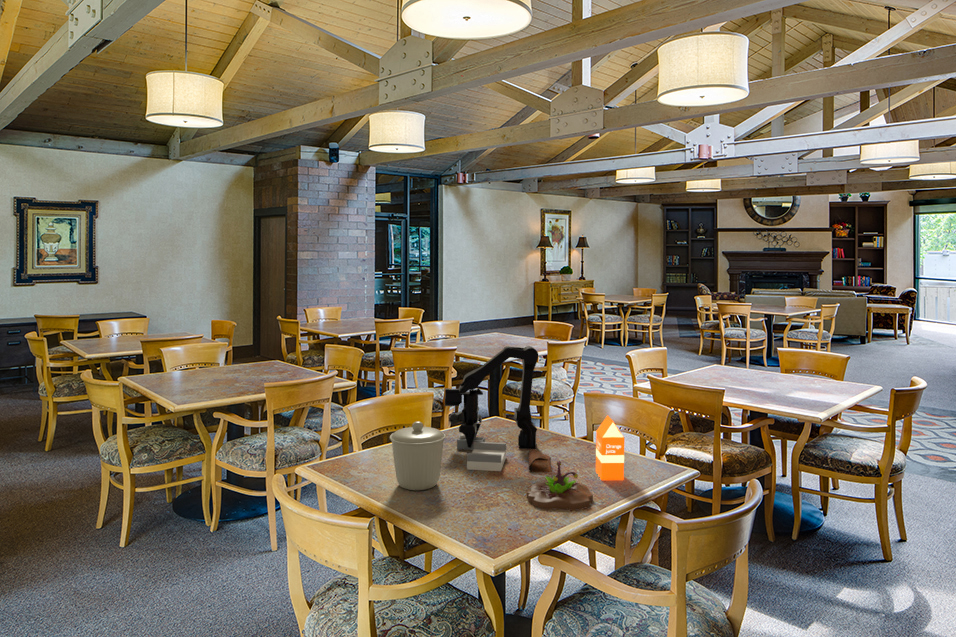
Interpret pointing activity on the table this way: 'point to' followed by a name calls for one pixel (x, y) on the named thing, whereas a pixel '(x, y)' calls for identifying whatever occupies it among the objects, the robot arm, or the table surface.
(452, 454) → the table surface
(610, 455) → the orange juice
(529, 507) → the table surface
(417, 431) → the canister
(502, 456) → the stand
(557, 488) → the plant
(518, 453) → the table surface
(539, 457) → the sunglasses case
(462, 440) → the grey knobbed block
